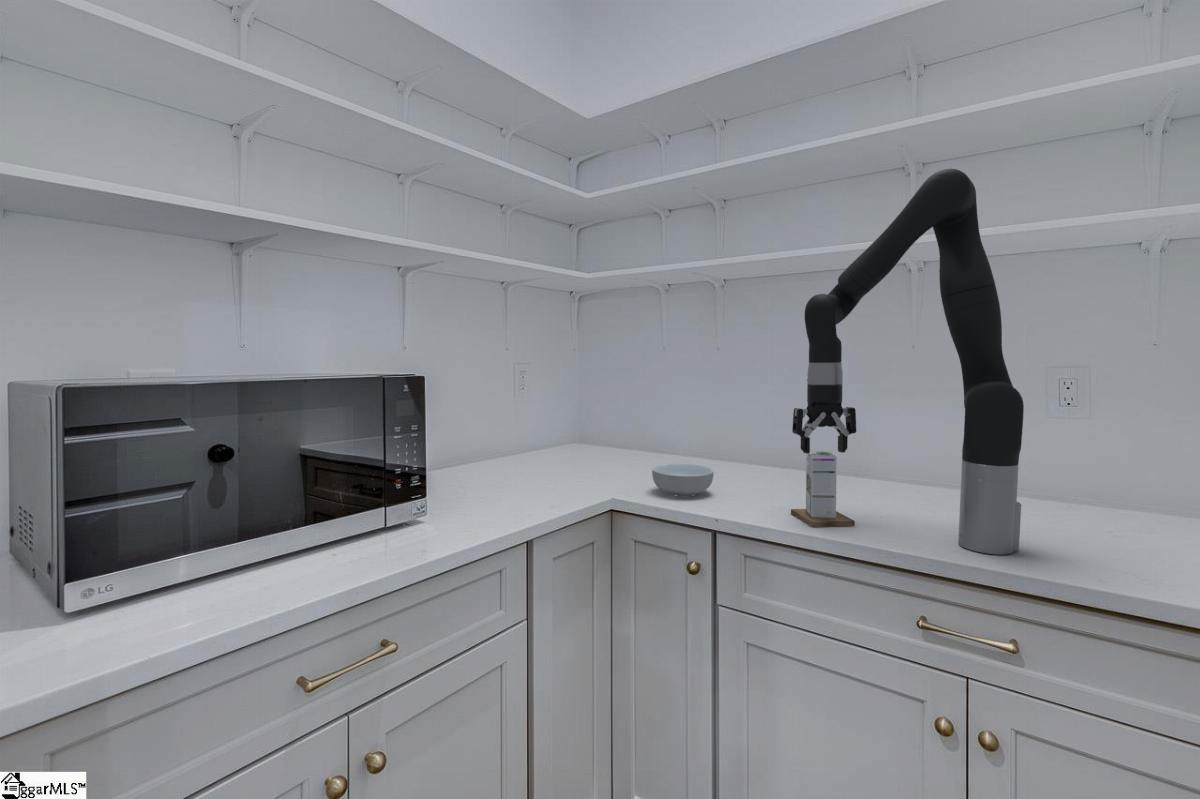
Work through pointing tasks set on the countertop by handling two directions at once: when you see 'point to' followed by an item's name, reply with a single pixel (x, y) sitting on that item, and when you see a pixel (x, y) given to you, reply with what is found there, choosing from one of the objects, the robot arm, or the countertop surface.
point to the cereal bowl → (682, 478)
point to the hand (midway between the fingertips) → (824, 452)
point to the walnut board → (822, 519)
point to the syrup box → (821, 485)
